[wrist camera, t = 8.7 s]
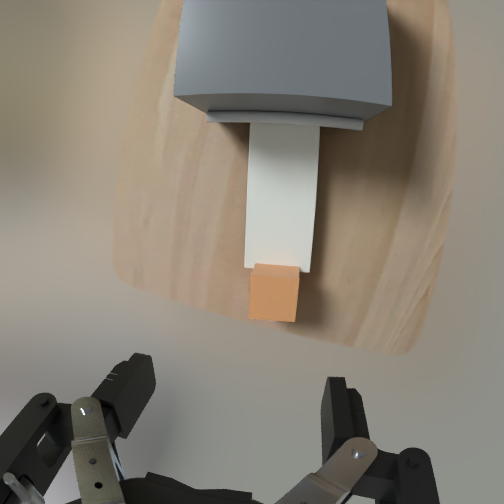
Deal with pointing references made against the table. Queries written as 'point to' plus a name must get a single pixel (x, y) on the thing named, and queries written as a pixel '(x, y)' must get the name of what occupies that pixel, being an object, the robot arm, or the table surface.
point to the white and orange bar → (279, 215)
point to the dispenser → (285, 61)
